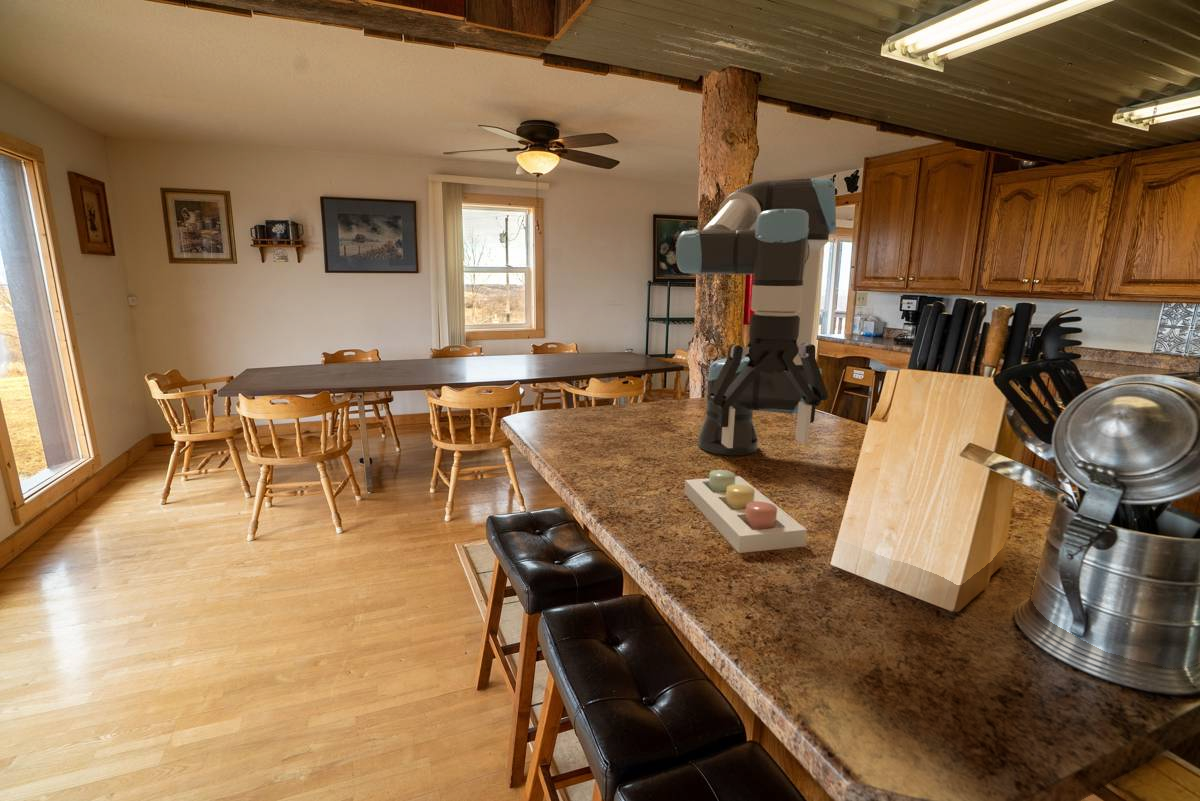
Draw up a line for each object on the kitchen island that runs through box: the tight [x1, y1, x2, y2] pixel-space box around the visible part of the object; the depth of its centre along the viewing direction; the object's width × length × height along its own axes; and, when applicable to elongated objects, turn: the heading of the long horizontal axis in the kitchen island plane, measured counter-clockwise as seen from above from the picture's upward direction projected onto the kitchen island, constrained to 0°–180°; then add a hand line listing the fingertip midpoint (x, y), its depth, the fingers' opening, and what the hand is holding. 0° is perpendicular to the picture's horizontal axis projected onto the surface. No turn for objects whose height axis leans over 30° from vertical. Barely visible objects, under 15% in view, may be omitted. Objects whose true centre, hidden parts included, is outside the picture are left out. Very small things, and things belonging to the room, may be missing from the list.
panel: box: [683, 475, 808, 554], centre depth 103 cm, size 12×25×3 cm, turn 12°
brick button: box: [745, 501, 777, 530], centre depth 95 cm, size 5×5×3 cm
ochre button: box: [726, 484, 755, 510], centre depth 102 cm, size 5×5×3 cm
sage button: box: [708, 469, 736, 493], centre depth 110 cm, size 5×5×3 cm
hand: (764, 443), depth 92 cm, fingers open, 13 cm apart
